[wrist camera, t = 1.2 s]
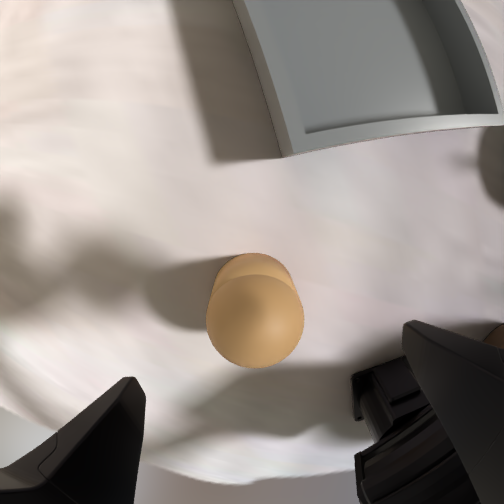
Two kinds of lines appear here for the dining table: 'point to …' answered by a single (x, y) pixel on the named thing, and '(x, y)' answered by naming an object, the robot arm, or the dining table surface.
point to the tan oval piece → (254, 311)
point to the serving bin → (367, 69)
